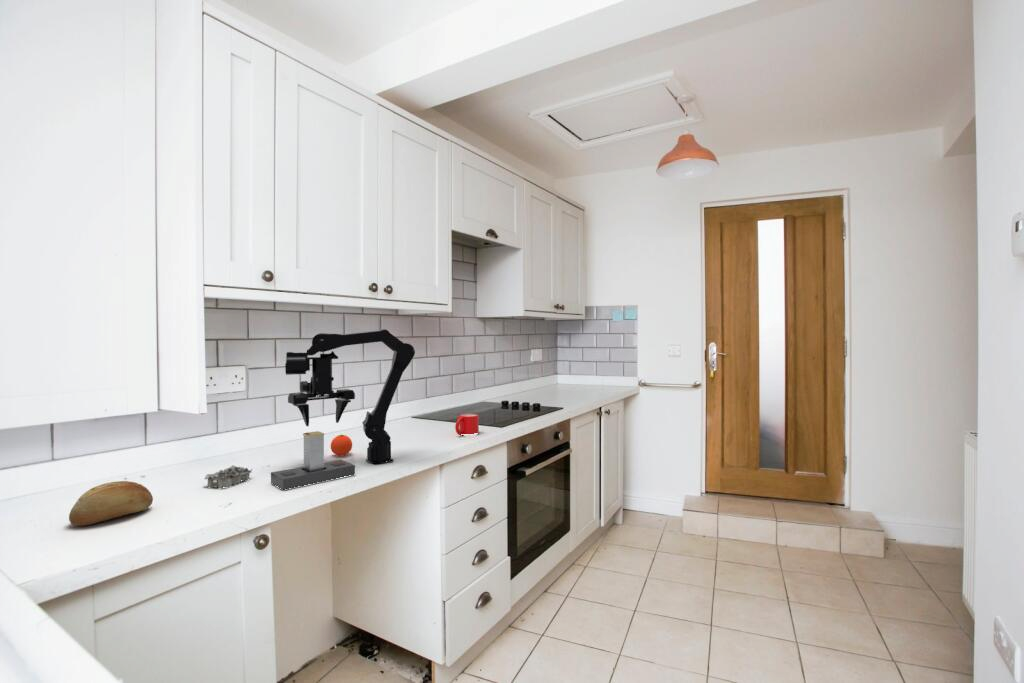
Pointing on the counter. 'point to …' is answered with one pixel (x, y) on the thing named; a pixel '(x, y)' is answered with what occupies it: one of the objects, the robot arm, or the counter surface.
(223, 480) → the egg carton
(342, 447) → the clementine
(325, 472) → the rack rail
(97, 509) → the bread roll
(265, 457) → the counter surface
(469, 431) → the mug
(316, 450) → the square bar
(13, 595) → the counter surface
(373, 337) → the robot arm
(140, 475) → the counter surface
